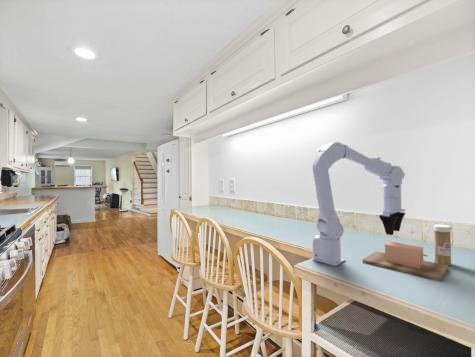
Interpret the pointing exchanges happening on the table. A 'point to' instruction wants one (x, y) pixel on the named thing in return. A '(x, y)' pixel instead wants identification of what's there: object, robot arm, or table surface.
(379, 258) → the stub board
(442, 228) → the sprinkles bottle
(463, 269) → the table surface
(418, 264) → the block
